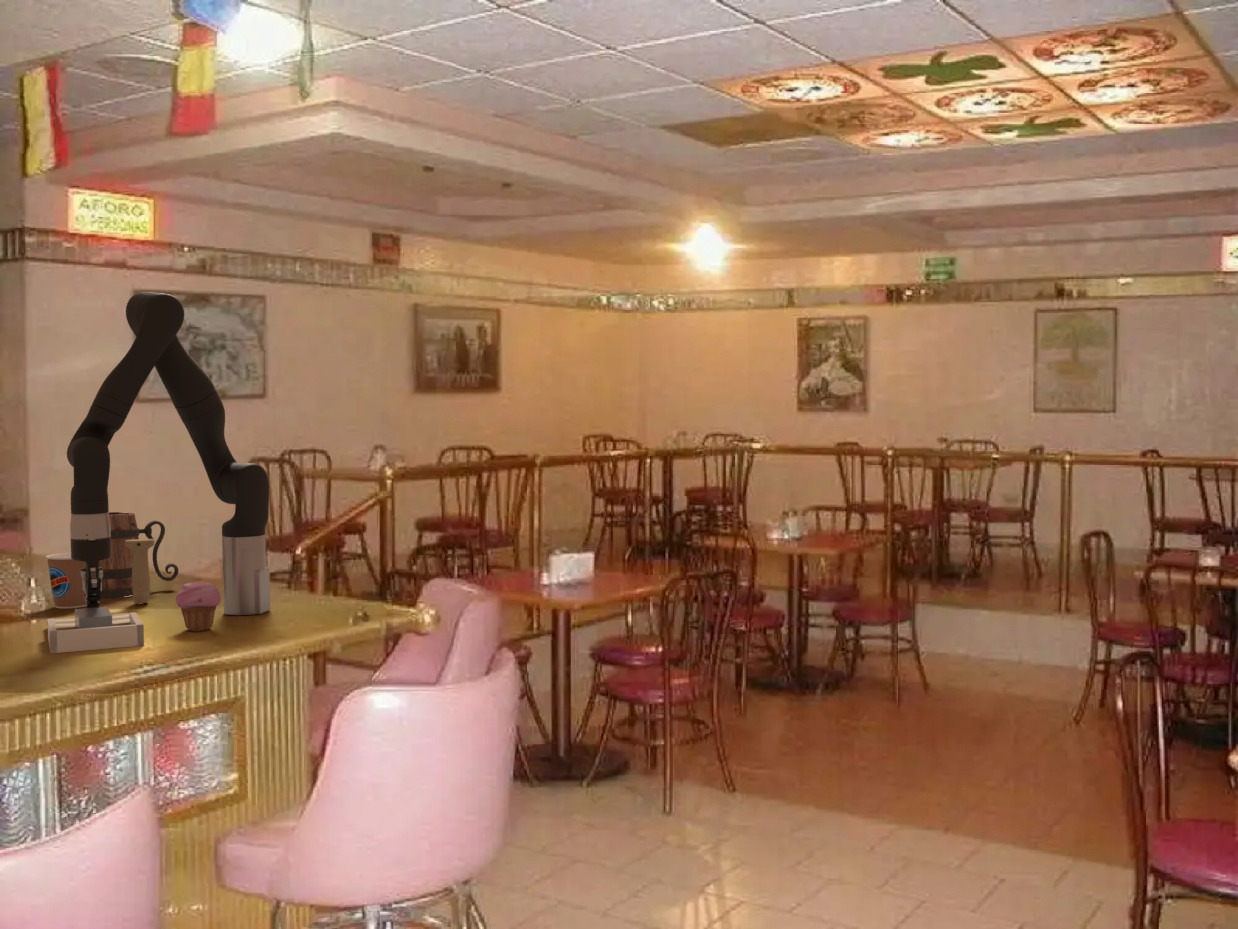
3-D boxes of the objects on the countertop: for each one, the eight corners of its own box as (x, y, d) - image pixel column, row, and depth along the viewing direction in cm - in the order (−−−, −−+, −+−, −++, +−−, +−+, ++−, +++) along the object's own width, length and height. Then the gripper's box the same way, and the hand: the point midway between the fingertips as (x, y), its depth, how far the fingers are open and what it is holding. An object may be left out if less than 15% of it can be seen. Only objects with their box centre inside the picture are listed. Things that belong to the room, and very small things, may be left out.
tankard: (81, 601, 304) (78, 517, 303) (75, 592, 319) (72, 512, 318) (183, 593, 315) (181, 512, 314) (173, 585, 330) (171, 508, 329)
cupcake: (173, 628, 263) (171, 580, 262) (216, 624, 267) (215, 577, 267) (181, 635, 255) (180, 585, 255) (225, 631, 259) (224, 582, 259)
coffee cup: (37, 607, 294) (36, 556, 293) (77, 601, 302) (75, 551, 302) (65, 611, 288) (64, 558, 288) (105, 605, 297) (103, 553, 296)
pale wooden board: (47, 628, 265) (47, 618, 265) (129, 622, 272) (129, 612, 272) (49, 638, 252) (48, 628, 252) (135, 632, 259) (134, 622, 259)
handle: (155, 604, 296) (153, 540, 296) (125, 606, 295) (123, 541, 294) (157, 601, 301) (155, 538, 300) (128, 603, 299) (126, 539, 299)
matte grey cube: (75, 633, 253) (74, 609, 252) (107, 630, 256) (107, 606, 255) (79, 643, 247) (79, 618, 246) (112, 640, 250) (112, 615, 249)
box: (48, 639, 252) (47, 618, 252) (136, 631, 259) (135, 612, 259) (50, 653, 237) (49, 632, 237) (144, 645, 244) (143, 624, 244)
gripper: (68, 534, 260) (71, 618, 261) (72, 539, 248) (75, 628, 249) (108, 532, 263) (110, 615, 264) (113, 537, 251) (116, 624, 252)
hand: (93, 621), depth 256 cm, fingers closed
